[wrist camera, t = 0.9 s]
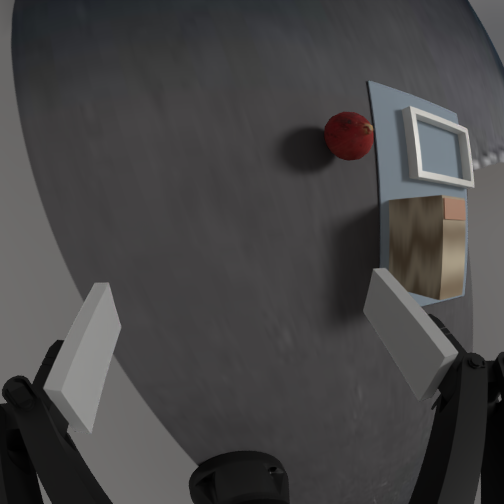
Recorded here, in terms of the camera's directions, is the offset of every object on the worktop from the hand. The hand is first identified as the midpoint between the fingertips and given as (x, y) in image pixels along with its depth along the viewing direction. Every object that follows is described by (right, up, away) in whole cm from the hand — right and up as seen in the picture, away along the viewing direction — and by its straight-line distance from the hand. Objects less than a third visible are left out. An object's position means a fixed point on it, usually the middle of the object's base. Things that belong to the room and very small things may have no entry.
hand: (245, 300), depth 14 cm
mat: (+28, +11, +26) cm, 40 cm away
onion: (+11, +16, +21) cm, 29 cm away
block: (+22, +4, +25) cm, 33 cm away
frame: (+31, +19, +26) cm, 45 cm away
